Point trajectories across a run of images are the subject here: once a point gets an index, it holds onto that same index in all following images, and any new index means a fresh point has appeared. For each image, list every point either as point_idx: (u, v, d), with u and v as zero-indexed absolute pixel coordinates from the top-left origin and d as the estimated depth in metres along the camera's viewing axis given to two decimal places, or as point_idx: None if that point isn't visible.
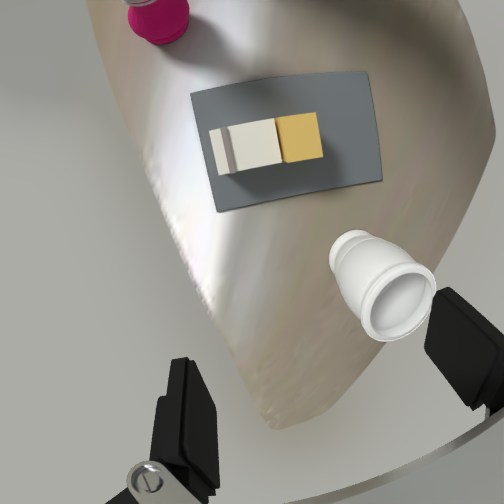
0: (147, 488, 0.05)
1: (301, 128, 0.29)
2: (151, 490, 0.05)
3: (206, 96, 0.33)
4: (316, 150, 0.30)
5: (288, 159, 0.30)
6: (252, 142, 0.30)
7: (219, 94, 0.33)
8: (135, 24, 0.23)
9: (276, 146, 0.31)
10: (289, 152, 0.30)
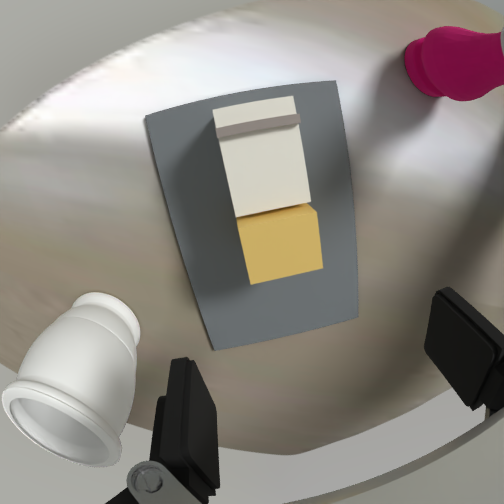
0: (147, 488, 0.05)
1: (296, 247, 0.19)
2: (151, 490, 0.05)
3: (330, 102, 0.22)
4: (261, 273, 0.20)
5: (243, 229, 0.18)
6: (269, 167, 0.18)
7: (332, 120, 0.23)
8: (453, 31, 0.14)
9: (263, 207, 0.19)
10: (257, 230, 0.18)
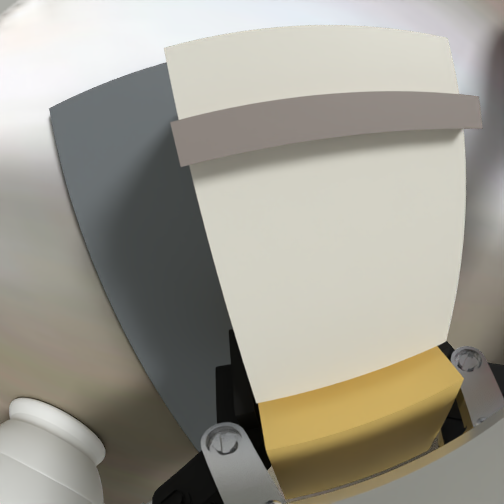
0: (220, 449, 0.06)
1: (396, 445, 0.06)
2: (223, 451, 0.06)
3: None
4: (310, 488, 0.07)
5: (282, 449, 0.05)
6: (375, 271, 0.05)
7: None
8: None
9: (335, 376, 0.06)
10: (318, 445, 0.05)
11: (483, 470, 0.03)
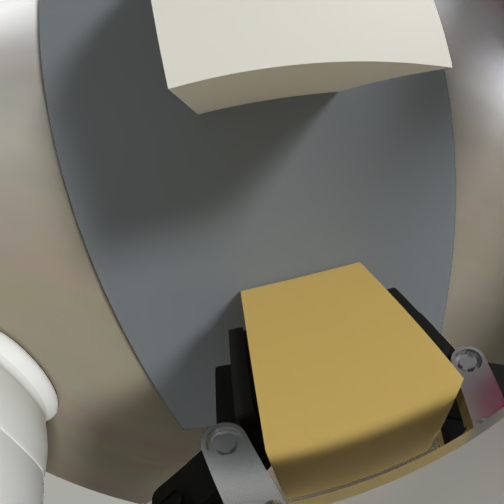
0: (220, 449, 0.06)
1: (397, 445, 0.06)
2: (223, 451, 0.06)
3: None
4: (310, 488, 0.07)
5: (282, 450, 0.05)
6: None
7: None
8: None
9: (291, 47, 0.04)
10: (317, 446, 0.05)
11: (483, 470, 0.03)
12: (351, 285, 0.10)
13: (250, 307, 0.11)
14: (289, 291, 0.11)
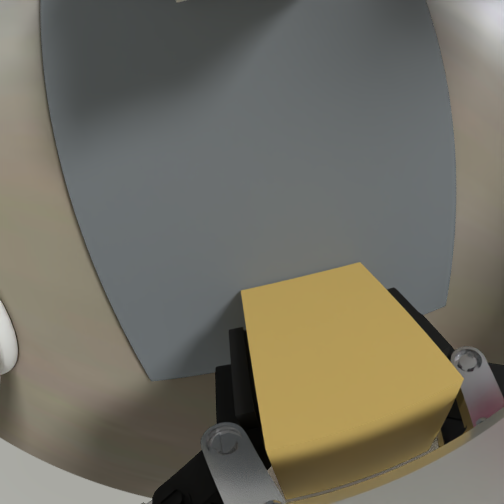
0: (220, 449, 0.06)
1: (396, 445, 0.06)
2: (223, 451, 0.06)
3: None
4: (310, 488, 0.07)
5: (282, 449, 0.05)
6: None
7: None
8: None
9: None
10: (317, 446, 0.05)
11: (483, 470, 0.03)
12: (351, 285, 0.10)
13: (250, 306, 0.11)
14: (289, 290, 0.11)
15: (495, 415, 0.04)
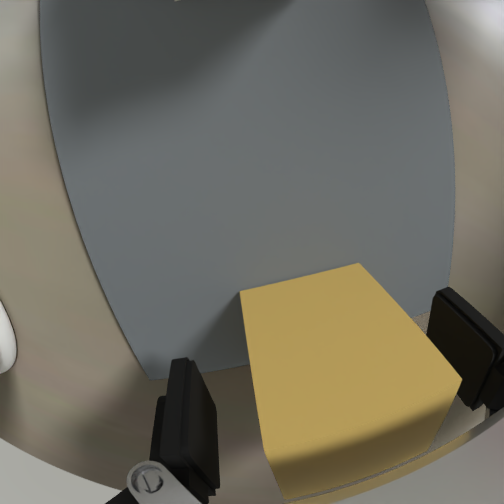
0: (147, 488, 0.05)
1: (395, 445, 0.06)
2: (151, 490, 0.05)
3: None
4: (309, 488, 0.07)
5: (280, 450, 0.05)
6: None
7: None
8: None
9: None
10: (316, 446, 0.05)
11: (483, 470, 0.03)
12: (350, 286, 0.10)
13: (249, 307, 0.11)
14: (288, 291, 0.11)
15: (495, 415, 0.04)
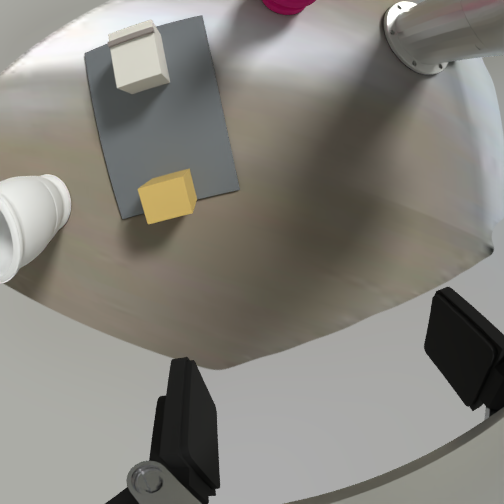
0: (147, 488, 0.05)
1: (173, 199, 0.30)
2: (151, 490, 0.05)
3: (197, 28, 0.29)
4: (153, 217, 0.30)
5: (140, 189, 0.29)
6: (136, 57, 0.24)
7: (198, 39, 0.29)
8: None
9: (132, 80, 0.25)
10: (148, 189, 0.29)
11: (483, 470, 0.03)
12: (180, 172, 0.34)
13: (151, 179, 0.34)
14: (163, 175, 0.35)
15: (495, 415, 0.04)
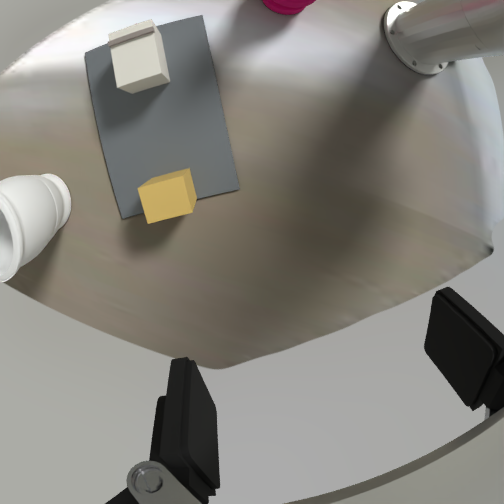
0: (147, 488, 0.05)
1: (172, 199, 0.30)
2: (151, 490, 0.05)
3: (197, 28, 0.29)
4: (153, 216, 0.30)
5: (140, 188, 0.29)
6: (136, 57, 0.24)
7: (199, 39, 0.29)
8: None
9: (132, 79, 0.25)
10: (148, 188, 0.29)
11: (483, 470, 0.03)
12: (180, 171, 0.34)
13: (151, 179, 0.34)
14: (163, 175, 0.35)
15: (495, 415, 0.04)
